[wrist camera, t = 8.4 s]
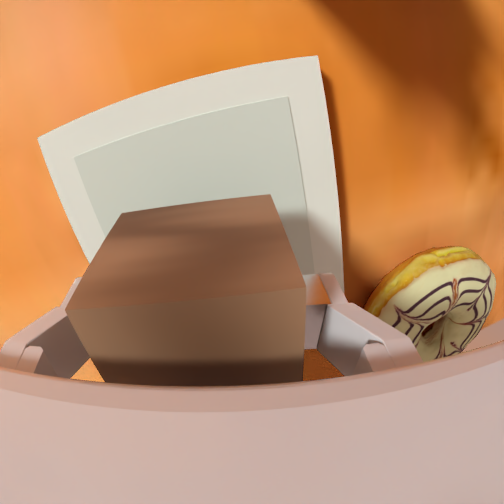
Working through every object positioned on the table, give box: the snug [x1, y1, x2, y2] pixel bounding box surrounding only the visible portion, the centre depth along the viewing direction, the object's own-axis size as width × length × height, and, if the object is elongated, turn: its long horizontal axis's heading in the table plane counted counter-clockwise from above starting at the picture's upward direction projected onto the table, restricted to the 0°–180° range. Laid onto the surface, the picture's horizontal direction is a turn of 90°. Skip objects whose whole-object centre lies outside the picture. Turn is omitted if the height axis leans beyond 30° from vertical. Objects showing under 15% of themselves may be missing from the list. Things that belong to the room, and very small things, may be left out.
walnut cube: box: [65, 194, 307, 386], centre depth 9 cm, size 5×5×5 cm
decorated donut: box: [364, 246, 496, 362], centre depth 18 cm, size 10×11×4 cm
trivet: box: [37, 55, 344, 293], centre depth 14 cm, size 12×12×2 cm
